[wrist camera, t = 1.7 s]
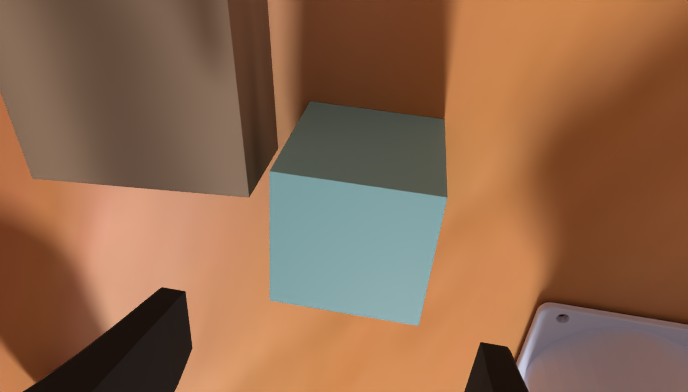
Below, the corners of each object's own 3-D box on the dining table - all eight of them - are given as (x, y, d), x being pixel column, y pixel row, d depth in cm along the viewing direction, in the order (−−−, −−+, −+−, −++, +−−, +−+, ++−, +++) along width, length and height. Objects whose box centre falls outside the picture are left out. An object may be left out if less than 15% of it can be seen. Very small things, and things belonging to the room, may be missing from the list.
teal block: (444, 118, 18) (447, 197, 14) (422, 228, 21) (418, 325, 16) (310, 100, 19) (269, 171, 14) (305, 210, 22) (269, 300, 17)
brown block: (264, -81, 16) (219, -72, 13) (279, 145, 20) (249, 197, 17) (36, -84, 17) (-61, -77, 14) (96, 132, 21) (32, 178, 18)
